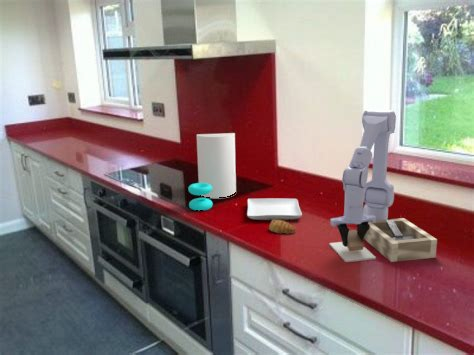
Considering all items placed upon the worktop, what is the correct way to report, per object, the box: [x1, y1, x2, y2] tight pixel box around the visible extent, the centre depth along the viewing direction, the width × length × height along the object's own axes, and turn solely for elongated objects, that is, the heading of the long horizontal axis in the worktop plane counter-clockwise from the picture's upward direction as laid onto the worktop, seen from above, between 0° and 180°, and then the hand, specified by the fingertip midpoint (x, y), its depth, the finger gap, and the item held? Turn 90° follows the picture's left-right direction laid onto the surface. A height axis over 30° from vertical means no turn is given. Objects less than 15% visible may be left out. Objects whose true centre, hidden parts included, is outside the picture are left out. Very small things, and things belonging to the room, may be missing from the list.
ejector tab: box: [386, 219, 416, 241], centre depth 155 cm, size 14×10×2 cm
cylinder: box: [196, 132, 237, 199], centre depth 218 cm, size 17×17×28 cm
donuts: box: [187, 182, 214, 212], centre depth 200 cm, size 10×10×10 cm
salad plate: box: [246, 197, 303, 221], centre depth 192 cm, size 21×21×3 cm
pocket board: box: [363, 217, 438, 263], centre depth 156 cm, size 20×15×6 cm
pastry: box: [268, 219, 296, 235], centre depth 173 cm, size 9×7×4 cm
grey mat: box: [328, 241, 377, 263], centre depth 154 cm, size 14×10×1 cm
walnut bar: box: [347, 229, 365, 251], centre depth 153 cm, size 7×4×2 cm, turn 10°
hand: (352, 244), depth 153 cm, fingers closed on walnut bar, 4 cm apart
